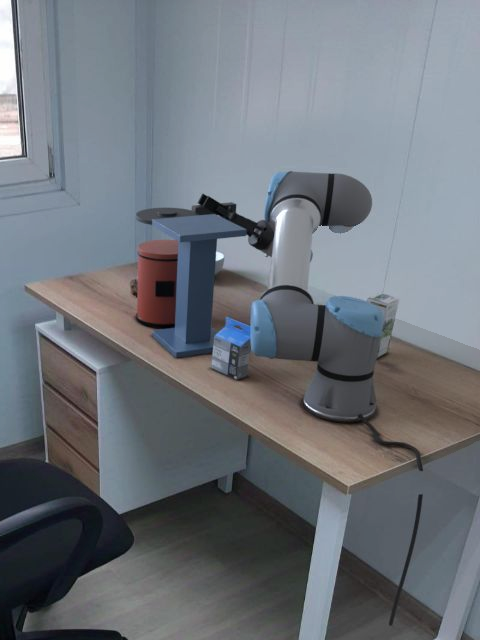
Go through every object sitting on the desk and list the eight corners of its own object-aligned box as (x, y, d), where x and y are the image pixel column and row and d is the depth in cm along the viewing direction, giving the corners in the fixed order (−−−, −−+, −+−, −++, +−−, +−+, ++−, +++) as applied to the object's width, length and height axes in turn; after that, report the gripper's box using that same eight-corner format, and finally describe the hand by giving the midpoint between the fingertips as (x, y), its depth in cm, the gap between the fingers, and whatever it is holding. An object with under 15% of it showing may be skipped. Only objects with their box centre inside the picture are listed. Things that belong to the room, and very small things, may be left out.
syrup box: (367, 347, 190) (377, 291, 182) (388, 353, 186) (400, 297, 179) (355, 353, 187) (365, 297, 179) (376, 359, 183) (388, 302, 175)
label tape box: (210, 368, 179) (213, 319, 172) (222, 364, 181) (226, 316, 174) (236, 380, 173) (240, 330, 166) (248, 376, 175) (253, 326, 168)
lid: (149, 228, 184) (149, 218, 183) (126, 214, 197) (126, 204, 196) (248, 219, 192) (249, 209, 191) (220, 206, 205) (220, 197, 204)
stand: (207, 327, 202) (214, 213, 186) (236, 350, 188) (246, 229, 172) (149, 335, 197) (152, 219, 181) (175, 359, 184) (180, 235, 168)
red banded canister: (192, 329, 201) (196, 255, 190) (135, 328, 201) (135, 254, 191) (190, 309, 214) (194, 239, 203) (137, 308, 215) (138, 238, 204)
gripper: (273, 258, 201) (208, 219, 189) (246, 243, 214) (183, 206, 202) (288, 232, 199) (223, 191, 187) (260, 219, 211) (197, 180, 199)
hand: (203, 199), depth 194 cm, fingers closed on lid, 3 cm apart
